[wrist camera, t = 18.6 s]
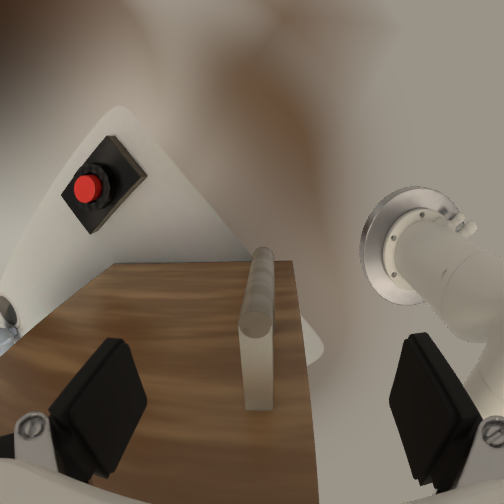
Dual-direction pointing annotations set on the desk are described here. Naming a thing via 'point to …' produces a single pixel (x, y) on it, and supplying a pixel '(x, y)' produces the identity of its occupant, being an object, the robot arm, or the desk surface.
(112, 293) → the cupboard door
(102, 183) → the button block
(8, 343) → the toy figure
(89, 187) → the button
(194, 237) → the desk surface
